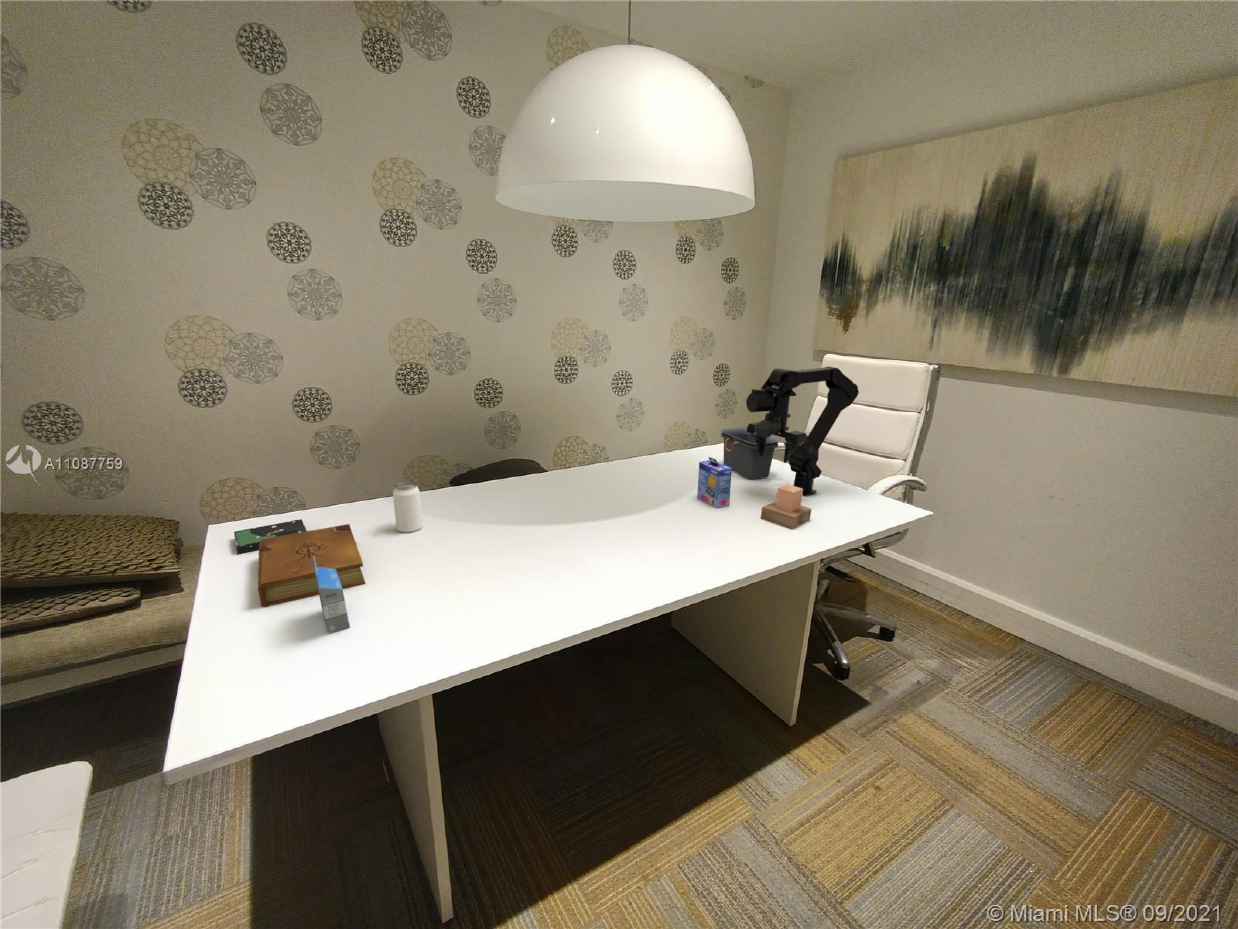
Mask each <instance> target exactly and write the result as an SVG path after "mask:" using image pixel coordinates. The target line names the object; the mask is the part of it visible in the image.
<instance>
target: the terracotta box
mask: <svg viewBox="0 0 1238 929" xmlns="http://www.w3.org/2000/svg"><path fill="white" fill-rule="evenodd" d="M802 494H803V489H802V488H799V487H795V486H794V485H791V484H788V483H787V484H784V485H782V486H778V487H777V491H776V498H775V501H776V508H779V509H782V510H785V511H788V512H790V513H791V512H794V511H796V510H798V509H800V508H801V506H802V500H803V495H802Z"/></svg>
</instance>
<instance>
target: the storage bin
mask: <svg viewBox="0 0 1238 929" xmlns="http://www.w3.org/2000/svg"><path fill="white" fill-rule="evenodd" d="M720 432H721V434H720V437H722V438H723V465H726V466H728V467H730V468H732V471H733V472H735V473H736V474H738V475H740V476H742V477H744V478H746V479H748V480H758V479H764V478H766V479H767V478H768V477H769V476H770V473H771V472H770V471H771V467H772V462H773V457H774V453H775V448H778V447H779V442H781V440H780V439H778V438H776V437H774V436H772V435H771V436H770V437H768V438H767V439H766V443H765V448H764V452H763V455H762V456H760V455H759V451H758V447H757V444H756V441H755V439H754V438H753V437H752V436H751V435H750V433H748V432H747V427H745V426H744V427H742V426H741V427H739V426H738V427H729V428H722V429H720Z"/></svg>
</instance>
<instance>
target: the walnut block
mask: <svg viewBox="0 0 1238 929" xmlns="http://www.w3.org/2000/svg"><path fill="white" fill-rule="evenodd" d="M760 513H761V514H760V519H761V520H763V521H766V522H769V523H771V524H775V525H778V526H781V527H784V528H786V529H788V530H794V529H795V528H798V527H800V526H802V525H804V524H806V523H807V522H810V521H811V515H812V508H810V507H806V506H803V505H801V508H800V509H798V510H796V511H794V512H791V513H790V512H788V511H785V510H782V509H779V508H776V500H775V501H773V502H770V503H768V504H766V505H763V506H762V507H761V512H760Z"/></svg>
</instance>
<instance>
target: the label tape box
mask: <svg viewBox="0 0 1238 929" xmlns="http://www.w3.org/2000/svg"><path fill="white" fill-rule="evenodd" d="M314 571H315V576H316V581H317V586H318V591H319V595H318V597H319V601H320V605H321V610H322V616H323V620H324V624H325V627H326V631H327V633H328V634H332V633H335V632H340V631H343V630H345V629H349V628H351V625H350V621H349V616H348V611H347V606H346V600H345V595H344V589H342V585H341V582H340V579H339V576H338V573H337V570H336V569H331V568H323V567H316V563H315V555H314Z"/></svg>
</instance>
